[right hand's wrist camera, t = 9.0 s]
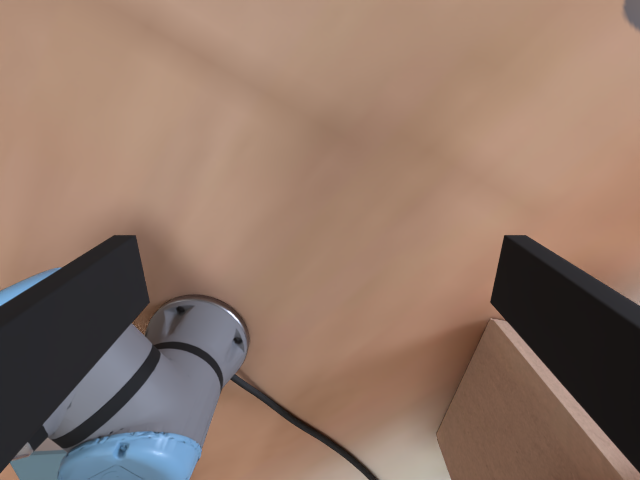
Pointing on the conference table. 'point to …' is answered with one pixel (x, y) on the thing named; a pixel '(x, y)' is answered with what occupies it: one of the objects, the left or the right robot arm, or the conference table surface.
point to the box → (522, 421)
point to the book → (40, 462)
